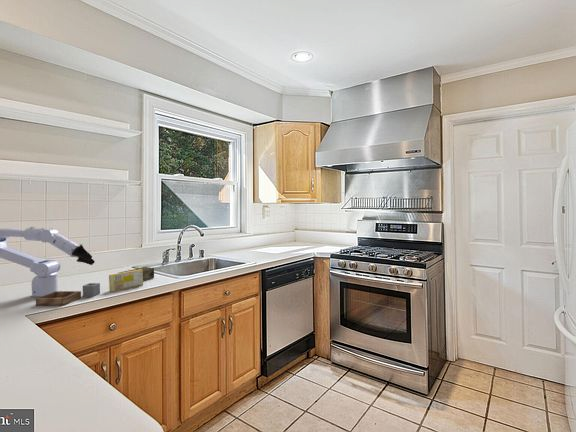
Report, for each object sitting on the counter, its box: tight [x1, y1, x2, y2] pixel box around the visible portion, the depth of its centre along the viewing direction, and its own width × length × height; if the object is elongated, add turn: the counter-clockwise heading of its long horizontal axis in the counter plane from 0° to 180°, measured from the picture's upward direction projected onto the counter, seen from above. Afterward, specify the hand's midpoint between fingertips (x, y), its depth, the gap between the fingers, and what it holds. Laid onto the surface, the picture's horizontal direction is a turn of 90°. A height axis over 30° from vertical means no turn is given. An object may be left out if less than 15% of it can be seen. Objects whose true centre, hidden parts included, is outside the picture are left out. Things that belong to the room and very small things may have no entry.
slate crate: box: [82, 282, 101, 298], centre depth 152 cm, size 5×5×5 cm
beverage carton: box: [118, 266, 155, 282], centre depth 180 cm, size 8×19×7 cm, turn 158°
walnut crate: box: [35, 290, 82, 307], centre depth 142 cm, size 12×12×3 cm
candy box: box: [108, 269, 144, 292], centre depth 165 cm, size 16×2×8 cm, turn 141°
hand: (92, 260), depth 154 cm, fingers open, 7 cm apart
